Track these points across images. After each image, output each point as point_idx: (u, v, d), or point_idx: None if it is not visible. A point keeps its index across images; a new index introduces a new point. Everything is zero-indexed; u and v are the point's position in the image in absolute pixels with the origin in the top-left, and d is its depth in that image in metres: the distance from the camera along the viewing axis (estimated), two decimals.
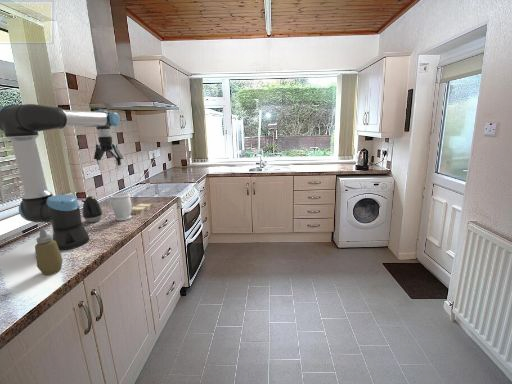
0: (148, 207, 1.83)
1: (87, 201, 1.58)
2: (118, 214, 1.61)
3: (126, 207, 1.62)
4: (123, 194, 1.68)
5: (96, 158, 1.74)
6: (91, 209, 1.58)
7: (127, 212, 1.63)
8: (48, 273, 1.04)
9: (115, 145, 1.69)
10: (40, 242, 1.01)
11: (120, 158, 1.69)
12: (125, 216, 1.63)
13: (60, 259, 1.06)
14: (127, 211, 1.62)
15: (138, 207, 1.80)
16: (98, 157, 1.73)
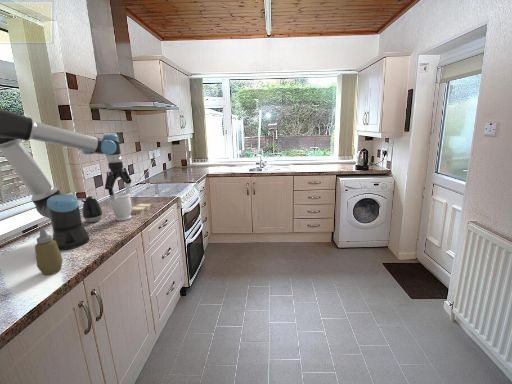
0: (148, 207, 1.83)
1: (87, 201, 1.58)
2: (118, 214, 1.61)
3: (126, 207, 1.62)
4: (123, 194, 1.68)
5: None
6: (91, 209, 1.58)
7: (127, 212, 1.63)
8: (48, 273, 1.04)
9: (108, 173, 1.53)
10: (40, 242, 1.01)
11: (105, 188, 1.52)
12: (125, 216, 1.63)
13: (60, 259, 1.06)
14: (127, 211, 1.62)
15: (138, 207, 1.80)
16: (124, 181, 1.68)
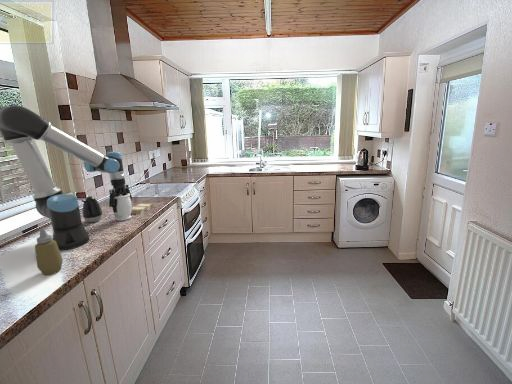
0: (148, 207, 1.83)
1: (87, 201, 1.58)
2: None
3: (126, 207, 1.62)
4: None
5: None
6: (91, 209, 1.58)
7: (127, 212, 1.63)
8: (48, 273, 1.04)
9: (111, 191, 1.55)
10: (40, 242, 1.01)
11: (109, 206, 1.56)
12: (125, 216, 1.63)
13: (60, 259, 1.06)
14: (127, 211, 1.63)
15: (138, 207, 1.80)
16: None
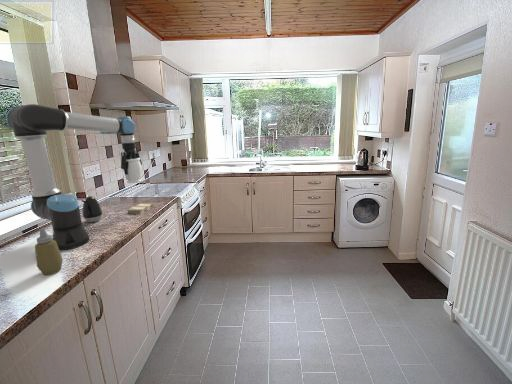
0: (148, 207, 1.83)
1: (87, 201, 1.58)
2: None
3: (137, 170, 1.70)
4: None
5: None
6: (91, 209, 1.58)
7: (137, 175, 1.71)
8: (48, 273, 1.04)
9: (122, 154, 1.63)
10: (40, 242, 1.01)
11: (121, 168, 1.64)
12: (136, 179, 1.71)
13: (60, 259, 1.06)
14: (137, 174, 1.71)
15: (138, 207, 1.80)
16: None
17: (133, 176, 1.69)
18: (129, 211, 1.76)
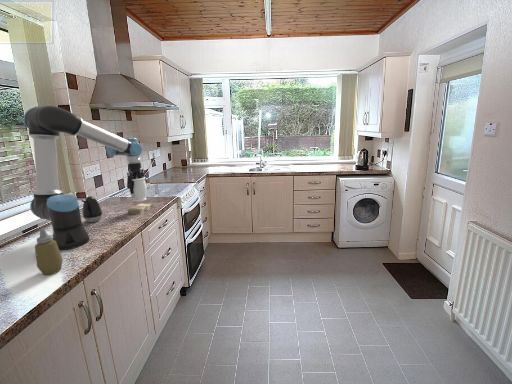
0: (148, 207, 1.83)
1: (87, 201, 1.58)
2: None
3: (142, 189, 1.75)
4: None
5: None
6: (91, 209, 1.58)
7: (143, 193, 1.77)
8: (48, 273, 1.04)
9: (129, 174, 1.69)
10: (40, 242, 1.01)
11: (127, 187, 1.70)
12: (141, 197, 1.77)
13: (60, 259, 1.06)
14: (143, 192, 1.76)
15: (138, 207, 1.80)
16: None
17: (138, 195, 1.75)
18: (129, 211, 1.76)
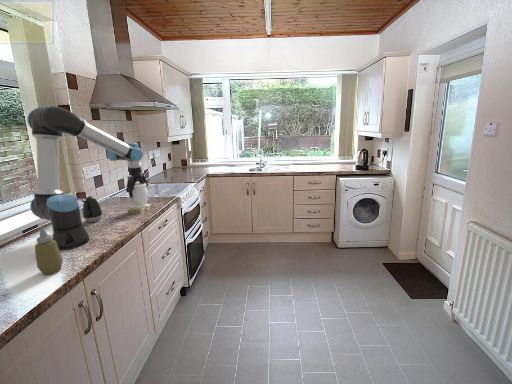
0: (148, 207, 1.83)
1: (87, 201, 1.58)
2: (136, 202, 1.76)
3: (143, 196, 1.77)
4: (140, 184, 1.83)
5: None
6: (91, 209, 1.58)
7: (144, 200, 1.78)
8: (48, 273, 1.04)
9: (129, 177, 1.70)
10: (40, 242, 1.01)
11: (126, 191, 1.69)
12: (142, 204, 1.78)
13: (60, 259, 1.06)
14: (144, 199, 1.78)
15: None
16: None
17: (139, 201, 1.77)
18: (129, 211, 1.76)
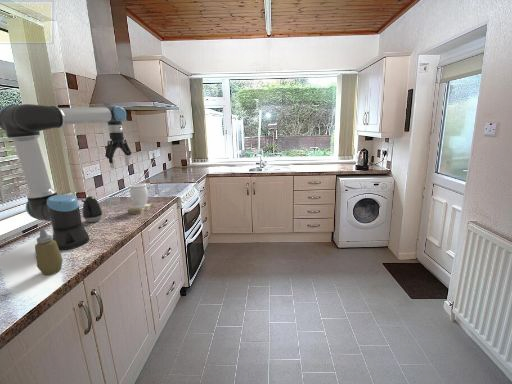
0: (148, 207, 1.83)
1: (87, 201, 1.58)
2: (136, 202, 1.76)
3: (143, 196, 1.77)
4: (140, 184, 1.83)
5: None
6: (91, 209, 1.58)
7: (144, 200, 1.78)
8: (48, 273, 1.04)
9: (109, 142, 1.61)
10: (40, 242, 1.01)
11: (105, 156, 1.60)
12: (142, 204, 1.78)
13: (60, 259, 1.06)
14: (144, 199, 1.78)
15: None
16: (124, 152, 1.76)
17: (139, 201, 1.77)
18: (129, 211, 1.76)
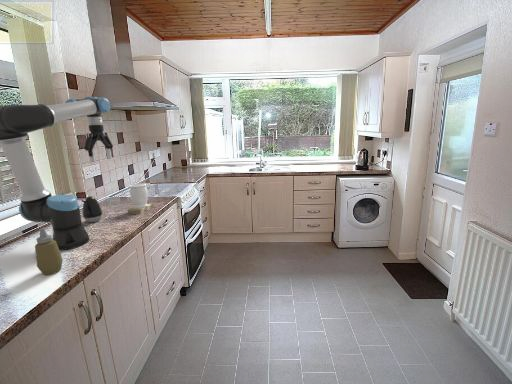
0: (148, 207, 1.83)
1: (87, 201, 1.58)
2: (136, 202, 1.76)
3: (143, 196, 1.77)
4: (140, 184, 1.83)
5: None
6: (91, 209, 1.58)
7: (144, 200, 1.78)
8: (48, 273, 1.04)
9: (88, 134, 1.56)
10: (40, 242, 1.01)
11: None
12: (142, 204, 1.78)
13: (60, 259, 1.06)
14: (144, 199, 1.78)
15: None
16: (105, 145, 1.71)
17: (139, 201, 1.77)
18: (129, 211, 1.76)
